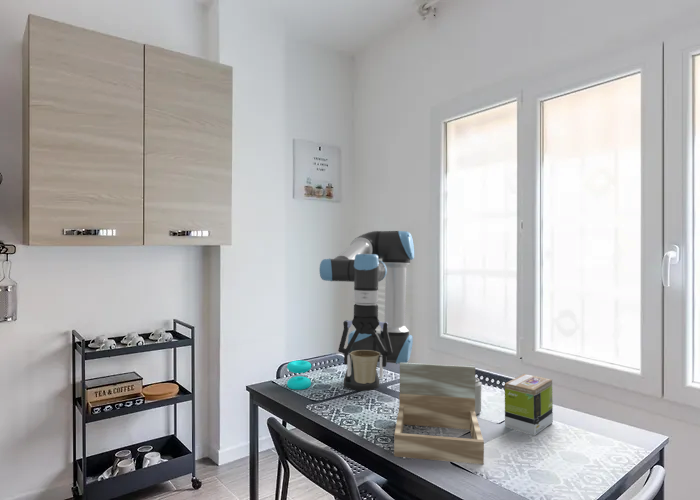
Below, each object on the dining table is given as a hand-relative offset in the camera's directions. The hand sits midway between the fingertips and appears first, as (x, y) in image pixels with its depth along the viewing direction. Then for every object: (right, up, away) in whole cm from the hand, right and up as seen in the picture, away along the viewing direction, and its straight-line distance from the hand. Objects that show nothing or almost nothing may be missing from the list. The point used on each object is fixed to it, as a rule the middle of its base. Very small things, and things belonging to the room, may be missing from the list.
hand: (365, 376), depth 137 cm
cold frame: (+21, -18, -4) cm, 29 cm away
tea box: (+54, -19, +8) cm, 58 cm away
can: (+38, -18, +19) cm, 46 cm away
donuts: (-26, -18, +46) cm, 55 cm away
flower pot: (0, -2, 0) cm, 2 cm away
